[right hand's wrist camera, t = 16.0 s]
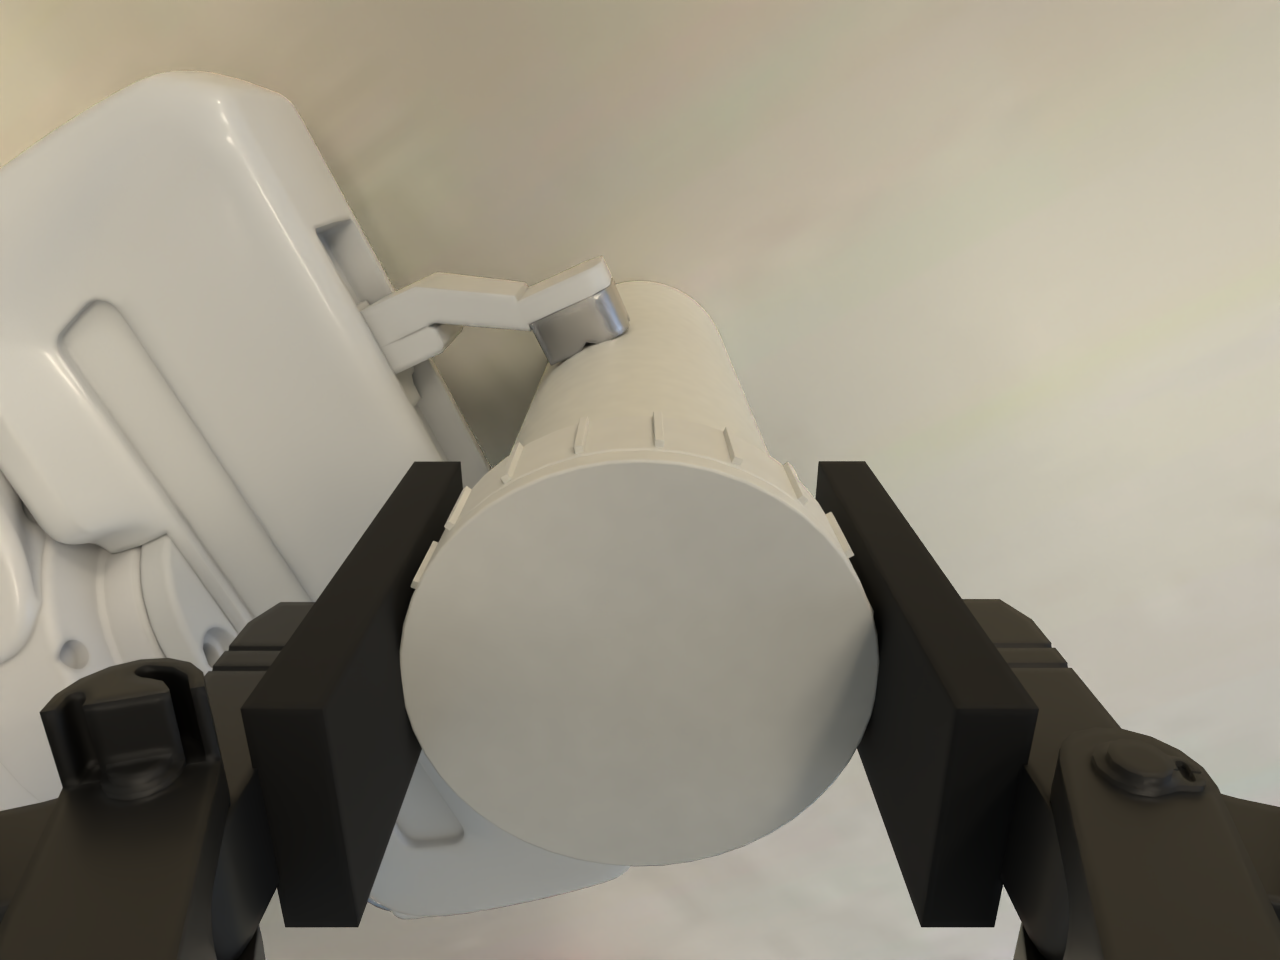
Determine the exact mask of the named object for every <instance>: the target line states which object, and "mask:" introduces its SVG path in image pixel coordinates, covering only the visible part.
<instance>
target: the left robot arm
mask: <svg viewBox="0 0 1280 960" xmlns="http://www.w3.org/2000/svg"><path fill="white" fill-rule="evenodd" d="M611 277H612V275H611V273H610V271H609V269H608V267H607V264H606V262H605V260H604V258H603V256H599V257H596V258H593V259H589V260H587V261H585V262H583V263H581V264H578V265H576V266H574V267H572V268H570V269H567V270H565V271H563V272H561V273H559V274H556V275H554V276H552V277H550V278H548V279H545V280H543V281H541V282H539V283H537V284H535V285H532V286H530V287H528V285H527V284H526V282H521V281H512V280H504V279H495V278H486V277H478V276H469V275H460V274H452V273H443V272H436V273H434V274H432V275H429V276H427V277H425V278H423V279H421V280H419V281H417V282H414V283H412V284H410V285H408V286H406V287H404V288H402V289H400V290H397V291H395V290H394V288H393V286H392V284H391V282H390V281H389V279H388V277H387V275H386V273H385V271H384V270H383V268H382V266H381V264H380V262H379V260H378V258H377V257H376V255H375V253H374V251H373V249H372V247H371V246H370V244H369V242H368V240H367V238H366V236H365V234H364V233H363V231H362V229H361V227H360V225H359V223H358V222H357V220H356V218H355V216H354V214H353V212H352V210H351V209H350V207H349V205H348V203H347V201H346V199H345V198H344V196H343V194H342V192H341V190H340V188H339V187H338V185H337V183H336V181H335V179H334V177H333V175H332V174H331V172H330V170H329V168H328V166H327V164H326V163H325V161H324V159H323V157H322V155H321V153H320V151H319V150H318V148H317V146H316V144H315V142H314V140H313V138H312V137H311V135H310V133H309V131H308V129H307V127H306V125H305V123H304V121H303V120H302V118H301V116H300V114H299V113H298V111H297V110H296V108H295V106H294V105H293V104H292V103H291V102H290V101H289V100H288V99H287V98H286V97H284V96H283V95H282V94H279V93H277V92H275V91H272V90H269V89H267V88H264V87H261V86H258V85H256V84H253V83H250V82H247V81H244V80H242V79H238V78H234V77H230V76H226V75H222V74H217V73H213V72H207V71H195V70H179V71H168V72H163V73H158V74H154V75H152V76H149V77H146V78H143V79H140V80H138V81H136V82H134V83H132V84H130V85H128V86H126V87H125V88H123V89H121V90H119V91H117V92H115V93H113V94H111V95H110V96H108V97H106V98H105V99H103V100H101V101H99V102H98V103H96V104H94V105H93V106H91V107H89V108H88V109H86V110H84V111H83V112H81V113H79V114H78V115H76V116H75V117H73V118H72V119H70V120H68V121H67V122H65V123H64V124H62V125H61V126H59V127H57V128H56V129H54V130H53V131H52V132H50V133H49V134H47V135H46V136H44V137H43V138H41V139H40V140H38V141H37V142H36V143H34V144H33V145H31V146H30V147H28V148H27V149H26V150H24V151H23V152H22V153H20V154H19V155H17V156H16V157H15V158H13V159H12V160H11V161H9V162H8V163H7V164H5V165H4V166H2V167H1V168H0V811H3V810H8V809H12V808H17V807H22V806H26V805H31V804H36V803H41V802H45V801H48V800H52V799H56V798H58V797H59V795H60V792H61V790H62V788H63V787H62V784H61V781H60V777H59V774H58V771H57V768H56V764H55V761H54V758H53V755H52V752H51V748H50V745H49V742H48V739H47V736H46V732H45V729H44V726H43V723H42V719H41V716H40V713H39V712H40V711H41V710H42V709H43V708H44V707H45V705H46V704H47V703H48V702H49V701H50V700H51V699H52V698H53V696H54V695H55V694H57V693H58V692H60V691H62V690H63V689H65V688H66V687H68V686H69V685H71V684H73V683H74V682H76V681H77V680H79V679H81V678H83V677H85V676H88V675H90V674H93V673H95V672H98V671H100V670H103V669H105V668H107V667H110V666H114V665H119V664H123V663H127V662H131V661H136V660H140V659H156V658H172V659H177V660H182V661H187V662H191V663H192V664H193V665H195V666H196V667H197V668H199V669H200V670H201V671H203V674H204V676H205V675H206V673H207V672H208V671H212V669H213V665H214V664H215V662H216V661H217V660H218V659H219V658H220V656H221V655H222V654H223V653H224V651H228V650H229V645H230V644H231V643H232V642H233V640H234V639H235V638H236V637H237V635H238V634H239V633H240V632H241V631H242V629H243V628H244V627H245V626H246V624H247V623H248V622H250V621H251V620H253V619H254V618H256V617H257V616H259V615H261V614H262V613H264V612H265V611H267V610H268V609H270V608H272V607H273V606H275V605H276V604H278V603H280V602H316V600H317V599H318V598H319V596H320V595H321V593H322V592H323V591H324V589H325V588H326V586H327V585H328V583H329V582H330V581H331V579H332V578H333V576H334V575H335V573H336V572H337V571H338V569H339V568H340V566H341V565H342V564H343V562H344V561H345V559H346V558H347V556H348V555H349V554H350V552H351V551H352V549H353V548H354V547H355V545H356V544H357V542H358V541H359V539H360V538H361V537H362V535H363V534H364V532H365V531H366V529H367V528H368V527H369V525H370V524H371V522H372V521H373V520H374V518H375V517H376V515H377V514H378V512H379V511H380V510H381V508H382V507H383V505H384V504H385V502H386V501H387V500H388V498H389V497H390V495H391V494H392V493H393V491H394V490H395V488H396V487H397V485H398V484H399V483H400V481H401V480H402V478H403V477H404V476H405V474H406V473H407V471H408V470H409V468H410V467H411V466H412V464H413V463H414V461H461V471H462V483H463V489H464V488H465V487H466V486H468V487H469V488H470V489H472V488H473V487H474V486H475V485H476V484H477V483H478V482H479V480H480V479H481V478H482V477H483V476H484V475H485V474H486V473H488V472H489V471H490V470H491V467H490V465H489V463H488V462H487V460H486V458H485V456H484V454H483V452H482V450H481V449H480V447H479V445H478V443H477V441H476V439H475V438H474V436H473V434H472V432H471V430H470V428H469V426H468V425H467V423H466V421H465V419H464V417H463V415H462V414H461V412H460V410H459V408H458V406H457V404H456V402H455V401H454V399H453V397H452V395H451V393H450V391H449V390H448V388H447V386H446V384H445V382H444V380H443V378H442V377H441V375H440V373H439V371H438V369H437V367H436V366H435V364H434V362H433V360H432V357H434V356H436V355H438V354H440V353H442V352H443V351H444V350H445V349H446V348H447V347H448V346H449V344H450V343H451V342H452V341H453V340H454V339H455V338H456V337H457V336H458V335H459V334H460V332H461V331H462V329H463V326H475V327H486V328H498V329H510V330H521V331H531V330H533V332H534V334H535V336H536V338H537V340H538V342H539V344H540V346H541V348H542V350H543V352H544V354H545V355H546V357H547V359H548V361H549V363H550V365H551V366H552V365H554V364H556V363H559V362H561V361H563V360H565V359H568V358H570V357H572V356H574V355H575V354H577V353H579V352H581V350H582V349H583V347H584V345H585V343H586V342H590V343H595V344H599V343H602V342H605V341H609V340H611V339H613V338H615V337H617V336H619V335H621V334H622V333H623V332H625V331H626V330H627V329H629V326H630V324H629V321H630V318H629V315H628V313H627V310H626V308H625V306H624V303H623V301H622V299H621V296H620V294H619V292H618V289H617V287H616V285H615V282H614V280H613V278H611ZM630 867H631V866H621V865H606V864H600V863H594V862H588V861H583V860H577V859H574V858H570V857H566V856H563V855H559V854H556V853H552V852H549V851H547V850H544V849H542V848H539V847H537V846H534V845H531V844H529V843H526V842H524V841H522V840H520V839H518V838H517V837H515V836H513V835H511V834H509V833H507V832H505V831H503V830H501V829H500V828H498V827H497V826H495V825H494V824H492V823H491V822H489V821H488V820H486V819H485V818H484V817H482V816H481V815H479V814H478V813H477V812H475V811H474V810H473V809H472V808H471V807H470V806H469V805H467V804H466V803H465V802H464V801H463V800H462V799H461V798H459V797H458V796H457V795H456V794H455V793H454V791H453V790H452V789H451V788H450V787H449V786H448V785H447V784H446V782H445V781H444V780H443V779H442V778H441V777H440V776H439V774H438V773H437V771H436V770H435V768H434V767H433V766H432V764H431V763H430V761H429V760H428V758H427V757H426V755H425V754H424V752H423V750H421V753H420V756H419V759H418V762H417V764H416V767H415V770H414V773H413V776H412V778H411V781H410V784H409V787H408V790H407V792H406V795H405V798H404V801H403V804H402V806H401V809H400V812H399V815H398V817H397V820H396V823H395V826H394V829H393V831H392V834H391V837H390V840H389V843H388V845H387V848H386V851H385V854H384V857H383V859H382V862H381V865H380V868H379V871H378V873H377V876H376V879H375V882H374V885H373V887H372V890H371V893H370V896H369V898H368V901H367V902H368V903H370V904H372V905H374V906H376V907H378V908H381V909H384V910H387V911H390V912H392V913H393V914H394V915H395V916H396V917H398V918H400V919H418V918H423V917H435V916H450V915H458V914H467V913H472V912H478V911H484V910H490V909H496V908H501V907H506V906H511V905H515V904H520V903H525V902H530V901H535V900H539V899H544V898H548V897H553V896H557V895H561V894H564V893H568V892H572V891H576V890H580V889H584V888H587V887H591V886H594V885H598V884H601V883H604V882H607V881H610V880H612V879H615V878H617V877H619V876H621V875H622V874H624V873H625V872H626V871H627V870H628V869H629V868H630Z"/></svg>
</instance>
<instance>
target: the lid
mask: <svg viewBox="0 0 1280 960" xmlns="http://www.w3.org/2000/svg"><path fill="white" fill-rule="evenodd" d="M444 527H445V530H444V532H443V534H442V536H441V538H440V540H439V542H436V541H433V542H432V544H431V546H430V548H429V550H428V552H427V554H426V556H425V558H424V560H423V562H422V563H421V565H420V567H419V569H418V571H417V573H416V575H415V577H414V579H413V581H412V584H411V588H414V589H415V591H414V593H413V595H412V597H411V600H410V604H409V607H408V610H407V613H406V617H405V620H404V623H403V629H402V636H401V643H400V650H399V654H400V669H401V678H402V686H403V694H404V702H405V708H406V711H407V714H408V717H409V720H410V723H411V726H412V729H413V732H414V734H415V736H416V738H417V740H418V742H419V744H420V746H421V748H422V750H423V752H424V754H425V755H426V757H427V758H428V760H429V761H430V763H431V764H432V766H433V767H434V768H435V770H436V771H437V773H438V774H439V776H440V777H441V778H442V779H443V780H444V781H445V782H446V784H447V785H448V786H449V787H450V788H451V789H452V790H453V791H454V793H455V794H456V795H457V796H458V797H459V798H461V799H462V800H463V801H464V802H465V803H466V804H467V805H469V806H470V807H471V808H472V809H473V810H474V811H475V812H477V813H478V814H479V815H481V816H482V817H484V818H485V819H486V820H488V821H489V822H491V823H492V824H494V825H495V826H497V827H498V828H500V829H501V830H503V831H505V832H507V833H509V834H511V835H513V836H515V837H517V838H518V839H520V840H522V841H524V842H526V843H529V844H531V845H534V846H537V847H539V848H542V849H544V850H547V851H549V852H552V853H556V854H559V855H563V856H566V857H570V858H574V859H577V860H583V861H588V862H594V863H600V864H606V865H621V866H662V865H670V864H677V863H685V862H692V861H696V860H700V859H704V858H708V857H713V856H717V855H720V854H723V853H726V852H728V851H731V850H734V849H737V848H740V847H743V846H745V845H747V844H749V843H751V842H754V841H756V840H758V839H760V838H762V837H764V836H766V835H768V834H770V833H772V832H773V831H775V830H777V829H778V828H780V827H781V826H783V825H785V824H786V823H788V822H789V821H791V820H793V819H794V818H795V817H796V816H798V815H799V814H800V813H801V812H803V811H804V810H805V809H806V808H808V807H809V806H810V805H811V804H813V803H814V802H815V801H816V800H817V799H818V798H819V797H820V796H821V795H822V794H823V793H824V792H825V791H826V790H827V789H828V788H829V787H830V786H831V785H832V784H833V782H834V781H835V780H836V778H837V777H838V776H839V775H840V773H841V772H842V771H843V769H844V768H845V767H846V765H847V764H848V763H849V761H850V759H851V757H852V756H853V754H854V752H855V750H856V749H857V747H858V745H859V743H860V742H861V740H862V737H863V735H864V732H865V730H866V727H867V725H868V722H869V720H870V717H871V714H872V710H873V706H874V701H875V695H876V688H877V679H878V670H879V647H878V635H877V630H876V626H875V622H874V618H873V616H874V611H873V609H872V607H871V605H870V603H869V601H868V599H867V597H866V594H865V592H864V589H863V587H862V584H861V582H860V580H859V578H858V576H857V574H856V572H855V570H854V568H853V566H852V564H851V562H850V560H849V558H850V557H852V556H854V554H853V552H852V550H851V548H850V546H849V544H848V542H847V540H846V538H845V536H844V534H843V532H842V531H841V529H840V527H839V525H838V523H837V521H836V519H835V517H834V515H833V514H832V512H829V513H827V514H826V515H825V513H824V511H823V510H822V508H821V506H820V505H819V503H818V502H817V501H816V499H815V498H814V497H813V496H812V494H811V493H810V492H809V491H808V490H807V488H806V487H805V486H804V485H803V484H802V482H801V481H800V480H799V478H798V476H797V474H796V472H795V470H794V468H793V466H792V465H791V464H790V463H788V462H786V463H785V464H784V465H782V464H781V463H779V462H778V461H777V460H775V459H774V458H772V457H771V456H769V455H768V454H766V453H765V452H764V451H762V450H761V449H759V448H758V447H756V446H754V445H752V444H750V443H748V442H746V441H744V440H742V439H740V438H738V437H736V436H735V434H734V431H733V429H731V428H729V427H725V429H724V431H721V430H718V429H715V428H712V427H709V426H707V425H703V424H699V423H694V422H690V421H685V420H680V419H676V418H665V417H662V412H658V411H654V412H653V416H627V417H612V418H606V419H600V420H594V421H589V419H588V417H587V416H586V417H582V418H580V419H579V424H577V425H573V426H570V427H567V428H563V429H560V430H557V431H555V432H552V433H550V434H548V435H546V436H543V437H541V438H539V439H537V440H534V441H532V442H530V443H528V444H527V445H525V446H524V447H523V446H522V445H521V443H520V442H519V443H517V444H516V445H514V446H513V448H512V450H511V453H510V455H509V456H507V457H506V458H505V459H503V460H502V461H501V462H500V463H499V464H497V465H496V466H495V467H494V468H492V469H491V470H490V471H489V472H488V473H486V474H485V475H484V476H483V477H482V478H481V479H480V480H479V482H478V483H477V484H476V485H475V486H474V487H473V488H472V489H470V488H469V487H468V486H466V487H465V488H464V489H463V490H462V492H461V494H460V496H459V498H458V500H457V502H456V504H455V506H454V508H453V510H452V512H451V514H450V516H449V518H448V520H447V522H446V524H445V526H444Z"/></svg>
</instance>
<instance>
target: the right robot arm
mask: <svg viewBox="0 0 1280 960" xmlns="http://www.w3.org/2000/svg"><path fill="white" fill-rule="evenodd" d="M462 490H463V483H462V471H461V461H414V463H413V464H412V466H411V467H410V468H409V470H408V471H407V473H406V474H405V476H404V477H403V478H402V480H401V481H400V483H399V484H398V485H397V487H396V488H395V490H394V491H393V493H392V494H391V495H390V497H389V498H388V500H387V501H386V502H385V504H384V505H383V507H382V508H381V510H380V511H379V512H378V514H377V515H376V517H375V518H374V520H373V521H372V522H371V524H370V525H369V527H368V528H367V529H366V531H365V532H364V534H363V535H362V537H361V538H360V539H359V541H358V542H357V544H356V545H355V547H354V548H353V549H352V551H351V552H350V554H349V555H348V556H347V558H346V559H345V561H344V562H343V564H342V565H341V566H340V568H339V569H338V571H337V572H336V573H335V575H334V576H333V578H332V579H331V581H330V582H329V583H328V585H327V586H326V588H325V589H324V591H323V592H322V593H321V595H320V596H319V598H318V599H317V600H316V602H280V603H278V604H276V605H275V606H273V607H272V608H270V609H268V610H267V611H265V612H264V613H262V614H261V615H259V616H257V617H256V618H254V619H253V620H251V621H250V622H248V623H247V624H246V626H245V627H244V628H243V629H242V631H241V632H240V633H239V634H238V635H237V637H236V638H235V639H234V640H233V642H232V643H231V644H230V645H229V650H228V651H224V653H223V654H222V655H221V656H220V658H219V659H218V660H217V661H216V662H215V664H214V665H213V669H212V671H208V672H207V673H206V675H205V676H204V674H203V671H201V670H200V669H199V668H197V667H196V666H195V665H193V664H192V663H191V662H187V661H182V660H177V659H172V658H156V659H140V660H136V661H131V662H127V663H123V664H119V665H114V666H110V667H107V668H105V669H103V670H100V671H98V672H95V673H93V674H90V675H88V676H85V677H83V678H81V679H79V680H77V681H76V682H74V683H73V684H71V685H69V686H68V687H66V688H65V689H63V690H62V691H60V692H58V693H57V694H55V695H54V696H53V698H52V699H51V700H50V701H49V702H48V703H47V704H46V705H45V707H44V708H43V709H42V710H41V711H40V712H39V713H40V716H41V719H42V723H43V726H44V729H45V732H46V736H47V739H48V742H49V745H50V748H51V752H52V755H53V758H54V761H55V764H56V768H57V771H58V774H59V777H60V781H61V784H62V787H63V788H62V790H61V792H60V795H59V797H58V798H56V799H52V800H48V801H45V802H41V803H36V804H31V805H26V806H22V807H17V808H12V809H8V810H3V811H0V960H265V954H264V947H263V941H262V936H261V932H260V927H259V923H260V921H261V919H262V917H263V915H264V913H265V911H266V909H267V906H268V904H269V902H270V900H271V898H272V896H273V894H274V892H275V890H276V888H277V889H278V894H279V899H280V904H281V909H282V914H283V919H284V923H285V927H358V926H359V924H360V921H361V918H362V915H363V912H364V910H365V907H366V904H367V901H368V898H369V896H370V893H371V890H372V887H373V885H374V882H375V879H376V876H377V873H378V871H379V868H380V865H381V862H382V859H383V857H384V854H385V851H386V848H387V845H388V843H389V840H390V837H391V834H392V831H393V829H394V826H395V823H396V820H397V817H398V815H399V812H400V809H401V806H402V804H403V801H404V798H405V795H406V792H407V790H408V787H409V784H410V781H411V778H412V776H413V773H414V770H415V767H416V764H417V762H418V759H419V756H420V753H421V750H422V748H421V746H420V744H419V742H418V740H417V738H416V736H415V734H414V732H413V729H412V726H411V723H410V720H409V717H408V714H407V711H406V708H405V702H404V694H403V686H402V678H401V669H400V654H399V650H400V643H401V636H402V629H403V623H404V620H405V617H406V613H407V610H408V607H409V604H410V600H411V597H412V595H413V593H414V591H415V589H414V588H411V584H412V581H413V579H414V577H415V575H416V573H417V571H418V569H419V567H420V565H421V563H422V562H423V560H424V558H425V556H426V554H427V552H428V550H429V548H430V546H431V544H432V542H433V541H436V542H439V540H440V538H441V536H442V534H443V532H444V530H445V527H444V526H445V524H446V522H447V520H448V518H449V516H450V514H451V512H452V510H453V508H454V506H455V504H456V502H457V500H458V498H459V496H460V494H461V492H462ZM816 501H817V502H818V503H819V505H820V506H821V508H822V510H823V511H824V513H825V515H826V514H827V513H829V512H832V514H833V515H834V517H835V519H836V521H837V523H838V525H839V527H840V529H841V531H842V532H843V534H844V536H845V538H846V540H847V542H848V544H849V546H850V548H851V550H852V552H853V554H854V556H852V557H850V558H849V560H850V562H851V564H852V566H853V568H854V570H855V572H856V574H857V576H858V578H859V580H860V582H861V584H862V587H863V589H864V592H865V594H866V597H867V599H868V601H869V603H870V605H871V607H872V609H873V611H874V616H873V618H874V622H875V626H876V630H877V635H878V647H879V670H878V679H877V688H876V695H875V701H874V706H873V710H872V714H871V717H870V720H869V722H868V725H867V727H866V730H865V732H864V735H863V737H862V740H861V742H860V743H859V745H858V747H857V749H858V752H859V755H860V758H861V760H862V763H863V766H864V769H865V771H866V774H867V777H868V780H869V783H870V785H871V788H872V791H873V794H874V797H875V799H876V802H877V805H878V808H879V811H880V813H881V816H882V819H883V822H884V825H885V827H886V830H887V833H888V836H889V839H890V841H891V844H892V847H893V850H894V852H895V855H896V858H897V861H898V864H899V866H900V869H901V872H902V875H903V878H904V880H905V883H906V886H907V889H908V892H909V894H910V897H911V900H912V903H913V906H914V908H915V911H916V914H917V917H918V920H919V922H920V925H921V927H994V926H995V921H996V916H997V911H998V906H999V901H1000V897H1001V892H1002V887H1003V885H1004V887H1005V889H1006V891H1007V893H1008V895H1009V897H1010V899H1011V901H1012V903H1013V905H1014V907H1015V909H1016V911H1017V913H1018V915H1019V917H1020V919H1021V922H1022V923H1021V927H1020V932H1019V936H1018V941H1017V945H1016V950H1015V954H1014V959H1013V960H1280V807H1276V806H1271V805H1267V804H1262V803H1257V802H1252V801H1248V800H1243V799H1238V798H1234V797H1231V796H1227V795H1223V794H1221V793H1220V791H1219V789H1218V787H1217V785H1216V784H1215V783H1214V781H1213V780H1212V779H1211V777H1210V776H1209V775H1208V773H1207V772H1206V771H1205V769H1204V768H1203V767H1202V766H1200V765H1199V764H1198V763H1196V762H1195V761H1194V760H1192V759H1191V758H1190V757H1188V756H1187V755H1186V754H1184V753H1183V752H1182V751H1180V750H1178V749H1176V748H1174V747H1172V746H1170V745H1168V744H1166V743H1164V742H1161V741H1159V740H1157V739H1155V738H1153V737H1150V736H1147V735H1143V734H1139V733H1135V732H1132V731H1128V730H1124V729H1121V728H1120V726H1119V725H1118V724H1117V723H1116V721H1115V720H1114V719H1113V718H1112V717H1111V715H1110V714H1109V713H1108V712H1107V711H1106V709H1105V708H1104V707H1103V706H1102V704H1101V703H1100V702H1099V701H1098V700H1097V698H1096V697H1095V696H1094V695H1093V693H1092V692H1091V691H1090V690H1089V689H1088V687H1087V686H1086V685H1085V684H1084V682H1083V681H1082V680H1081V679H1080V678H1079V676H1078V675H1077V674H1076V673H1075V672H1074V670H1073V669H1072V668H1068V666H1067V662H1066V661H1065V659H1064V658H1063V657H1062V656H1061V654H1060V653H1059V652H1058V651H1057V650H1056V648H1052V647H1051V642H1050V641H1049V640H1048V639H1047V637H1046V636H1045V635H1044V634H1043V633H1042V631H1041V630H1040V629H1039V628H1038V626H1037V625H1036V624H1035V623H1034V622H1033V620H1032V619H1030V618H1029V617H1027V616H1025V615H1024V614H1022V613H1021V612H1019V611H1017V610H1016V609H1014V608H1013V607H1011V606H1010V605H1008V604H1006V603H1005V602H1003V601H1002V600H1000V599H962V598H961V597H960V596H959V594H958V593H957V591H956V590H955V589H954V587H953V586H952V584H951V583H950V581H949V580H948V579H947V577H946V576H945V574H944V573H943V571H942V570H941V569H940V567H939V566H938V564H937V563H936V562H935V560H934V559H933V557H932V556H931V554H930V553H929V552H928V550H927V549H926V547H925V546H924V544H923V543H922V542H921V540H920V539H919V537H918V536H917V535H916V533H915V532H914V530H913V529H912V527H911V526H910V525H909V523H908V522H907V520H906V519H905V518H904V516H903V515H902V513H901V512H900V510H899V509H898V508H897V506H896V505H895V503H894V502H893V500H892V499H891V498H890V496H889V495H888V493H887V492H886V491H885V489H884V488H883V486H882V485H881V483H880V482H879V481H878V479H877V478H876V476H875V475H874V473H873V472H872V471H871V469H870V468H869V466H868V465H867V464H866V462H865V461H819V464H818V476H817V488H816Z"/></svg>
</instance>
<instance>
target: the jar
mask: <svg viewBox="0 0 1280 960" xmlns="http://www.w3.org/2000/svg"><path fill="white" fill-rule="evenodd" d="M615 285H616V287H617V289H618V292H619V294H620V296H621V299H622V301H623V303H624V306H625V308H626V310H627V313H628V315H629V318H630V321H629V324H630V326H629V329H627V330H626V331H625V332H623V333H622V334H621V335H619V336H617V337H615V338H613V339H611V340H609V341H605V342H602V343H599V344H595V343H590V342H586V343H585V345H584V347H583V349H582V350H581V352H579V353H577V354H575V355H574V356H572V357H570V358H568V359H565V360H563V361H561V362H559V363H556V364H554V365H552V366H551V365H550V363H549V361H548V363H547V366H546V368H545V371H544V373H543V375H542V378H541V380H540V383H539V385H538V388H537V390H536V392H535V395H534V397H533V400H532V402H531V404H530V407H529V409H528V412H527V414H526V416H525V419H524V421H523V424H522V426H521V428H520V431H519V433H518V436H517V438H516V441H515V443H514V445H516V444H517V443H519V442H520V443H521V445H522V446H523V447H524V446H525V445H527V444H528V443H530V442H532V441H534V440H537V439H539V438H541V437H543V436H546V435H548V434H550V433H552V432H555V431H557V430H560V429H563V428H567V427H570V426H573V425H577V424H579V419H580V418H582V417H586V416H587V417H588V419H589V421H594V420H600V419H606V418H612V417H627V416H653V412H654V411H658V412H662V417H665V418H676V419H680V420H685V421H690V422H694V423H699V424H703V425H707V426H709V427H712V428H715V429H718V430H721V431H724V429H725V427H729V428H731V429H733V431H734V434H735V436H736V437H738V438H740V439H742V440H744V441H746V442H748V443H750V444H752V445H754V446H756V447H758V448H759V449H761V450H762V451H764V452H765V453H766V454H768V455H769V452H768V450H767V448H766V445H765V443H764V440H763V438H762V435H761V433H760V431H759V428H758V426H757V423H756V421H755V419H754V416H753V414H752V411H751V409H750V406H749V404H748V402H747V399H746V397H745V394H744V392H743V390H742V387H741V385H740V382H739V380H738V378H737V375H736V373H735V370H734V368H733V365H732V363H731V361H730V358H729V356H728V353H727V351H726V349H725V346H724V344H723V341H722V339H721V336H720V334H719V332H718V330H717V328H716V326H715V324H714V322H713V321H712V319H711V318H710V316H709V315H708V313H707V312H706V311H705V310H704V309H703V308H702V307H701V306H700V305H699V304H698V303H697V302H696V301H695V300H694V299H692V298H691V297H689V296H688V295H686V294H685V293H683V292H682V291H680V290H677V289H675V288H673V287H671V286H668V285H665V284H662V283H656V282H651V281H628V282H623V283H618V284H615ZM514 445H513V446H514ZM769 456H770V455H769Z"/></svg>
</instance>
